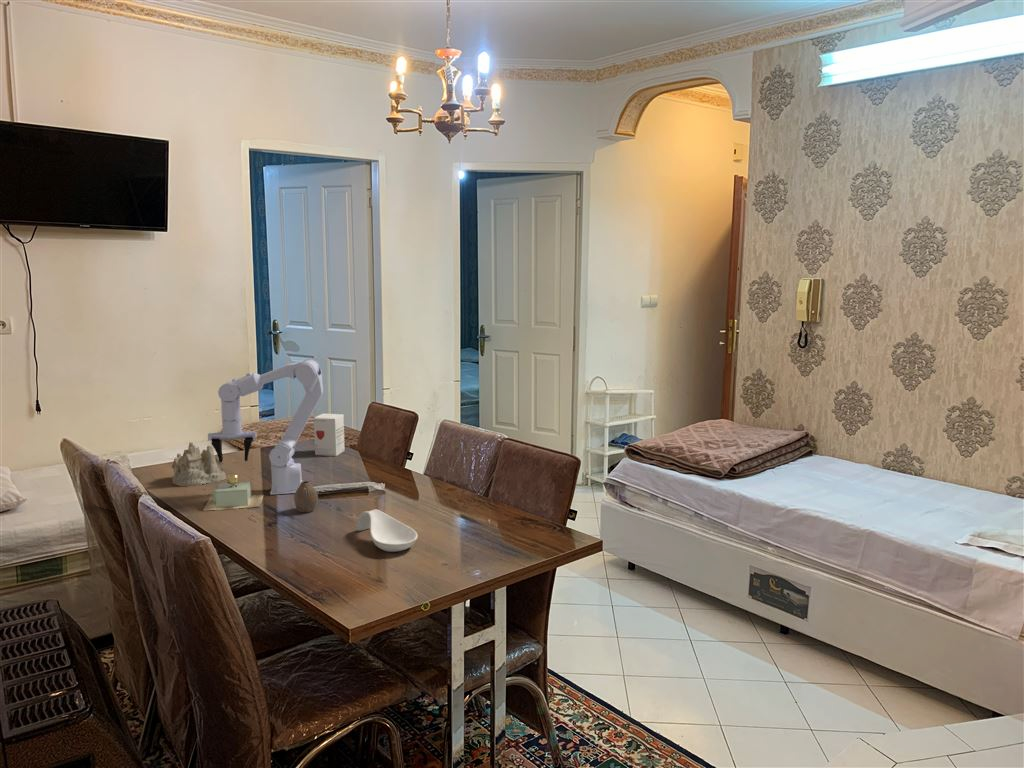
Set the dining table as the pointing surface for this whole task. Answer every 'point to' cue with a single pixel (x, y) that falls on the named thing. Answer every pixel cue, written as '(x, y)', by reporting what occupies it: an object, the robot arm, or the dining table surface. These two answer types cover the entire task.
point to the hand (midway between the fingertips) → (233, 460)
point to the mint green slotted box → (232, 494)
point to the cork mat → (254, 502)
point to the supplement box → (329, 434)
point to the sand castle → (197, 467)
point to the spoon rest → (386, 531)
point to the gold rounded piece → (232, 479)
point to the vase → (305, 497)
